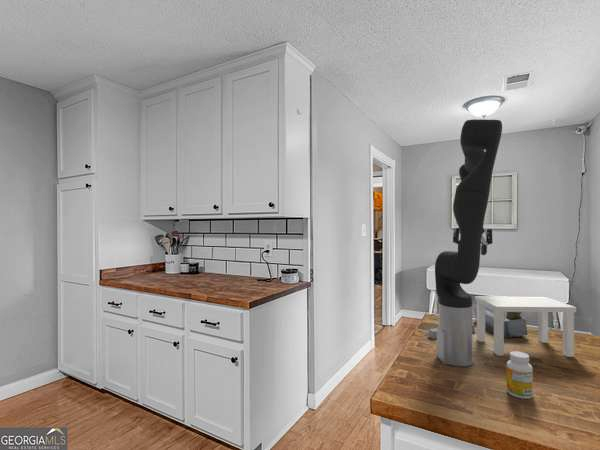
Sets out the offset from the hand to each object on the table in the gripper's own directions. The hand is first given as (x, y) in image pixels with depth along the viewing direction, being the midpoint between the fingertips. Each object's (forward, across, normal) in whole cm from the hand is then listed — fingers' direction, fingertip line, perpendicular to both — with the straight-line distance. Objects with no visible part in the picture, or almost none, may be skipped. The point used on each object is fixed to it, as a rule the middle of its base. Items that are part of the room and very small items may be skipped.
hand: (472, 254), depth 132 cm
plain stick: (+30, -10, -7) cm, 32 cm away
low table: (+29, +8, -20) cm, 36 cm away
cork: (+29, +13, -6) cm, 32 cm away
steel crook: (+28, +11, -1) cm, 30 cm away
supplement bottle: (+30, -11, -50) cm, 60 cm away
